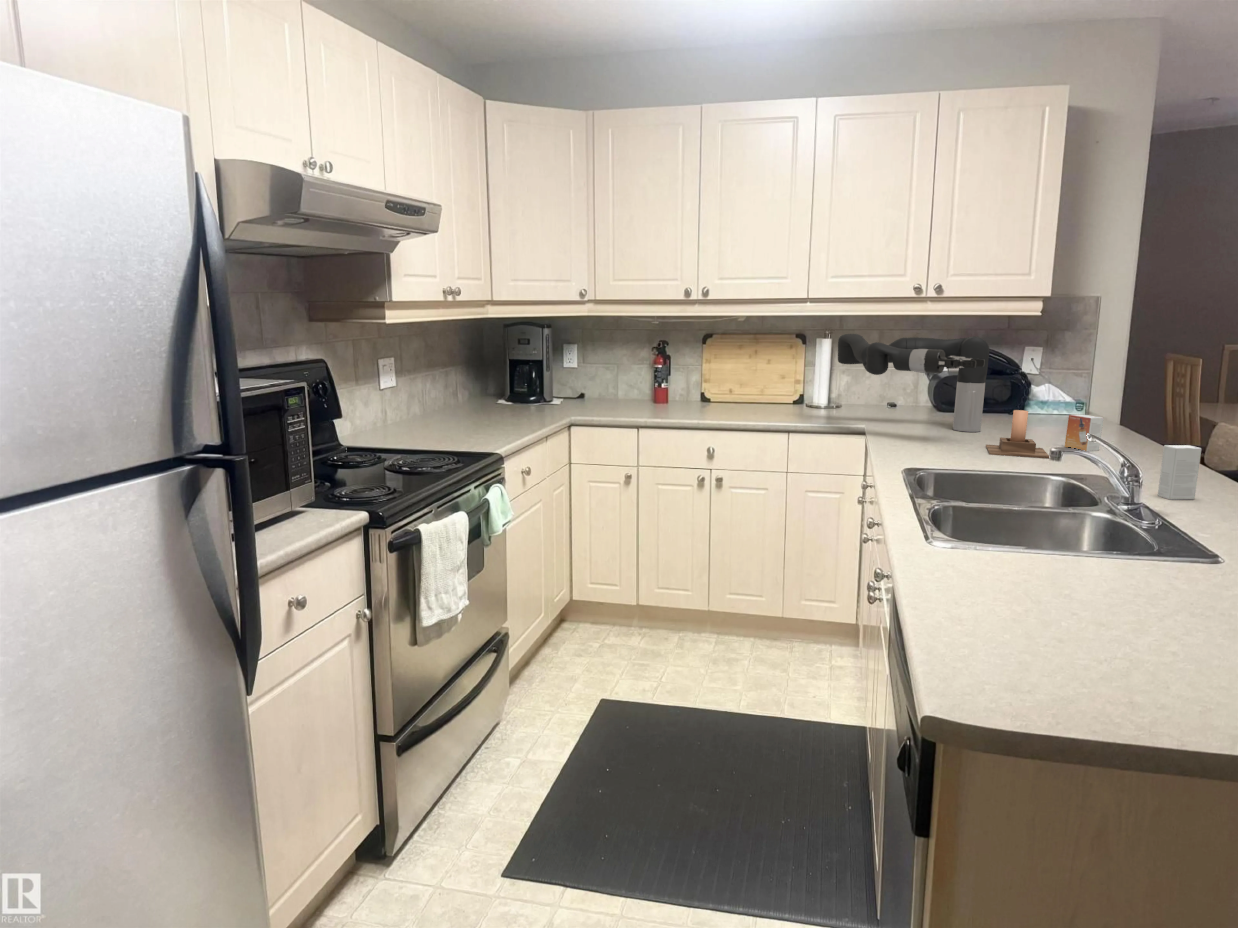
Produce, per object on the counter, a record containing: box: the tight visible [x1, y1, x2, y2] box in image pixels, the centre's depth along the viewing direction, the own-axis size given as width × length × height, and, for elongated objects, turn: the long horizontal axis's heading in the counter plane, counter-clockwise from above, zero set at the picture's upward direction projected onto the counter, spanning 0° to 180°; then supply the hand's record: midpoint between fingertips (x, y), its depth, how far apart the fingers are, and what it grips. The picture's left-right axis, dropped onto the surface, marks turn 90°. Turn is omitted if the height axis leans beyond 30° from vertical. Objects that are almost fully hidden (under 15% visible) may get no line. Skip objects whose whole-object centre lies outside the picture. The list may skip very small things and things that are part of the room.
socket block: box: [985, 437, 1050, 460], centre depth 242 cm, size 16×16×4 cm
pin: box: [1009, 409, 1029, 442], centre depth 241 cm, size 4×4×12 cm
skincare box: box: [1157, 444, 1202, 500], centre depth 183 cm, size 6×4×12 cm
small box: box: [1064, 413, 1104, 452], centre depth 249 cm, size 8×6×10 cm
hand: (980, 363), depth 246 cm, fingers open, 8 cm apart
